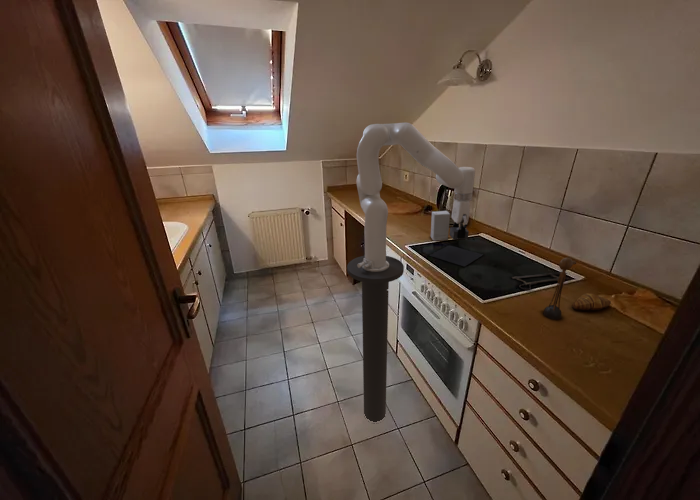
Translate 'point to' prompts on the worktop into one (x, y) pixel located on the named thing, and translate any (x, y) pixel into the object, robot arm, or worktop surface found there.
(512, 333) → the worktop surface
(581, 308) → the croissant
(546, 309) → the wooden tabletop sculpture
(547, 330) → the worktop surface
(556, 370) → the worktop surface
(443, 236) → the cosmetic box
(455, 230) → the tape measure
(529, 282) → the hacksaw
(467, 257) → the mat
